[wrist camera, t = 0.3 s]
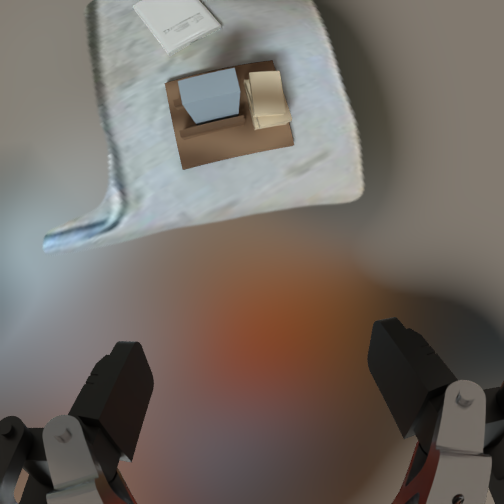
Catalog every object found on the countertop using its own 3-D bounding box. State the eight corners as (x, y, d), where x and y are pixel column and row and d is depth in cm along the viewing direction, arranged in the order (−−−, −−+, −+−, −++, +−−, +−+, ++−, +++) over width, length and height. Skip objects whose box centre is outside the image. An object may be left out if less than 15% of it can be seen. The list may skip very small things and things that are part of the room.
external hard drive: (181, -15, 26) (221, 30, 29) (134, 10, 27) (169, 57, 30) (180, -20, 24) (221, 24, 27) (131, 5, 25) (167, 53, 28)
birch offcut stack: (242, 83, 30) (244, 72, 26) (276, 78, 30) (281, 66, 26) (254, 131, 32) (257, 125, 28) (288, 125, 32) (295, 119, 28)
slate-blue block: (194, 109, 31) (177, 81, 20) (234, 100, 31) (234, 67, 20) (198, 126, 31) (182, 104, 21) (238, 117, 31) (240, 91, 21)
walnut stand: (166, 85, 30) (160, 77, 27) (271, 63, 30) (275, 52, 27) (184, 169, 34) (178, 168, 30) (292, 145, 34) (298, 142, 30)
